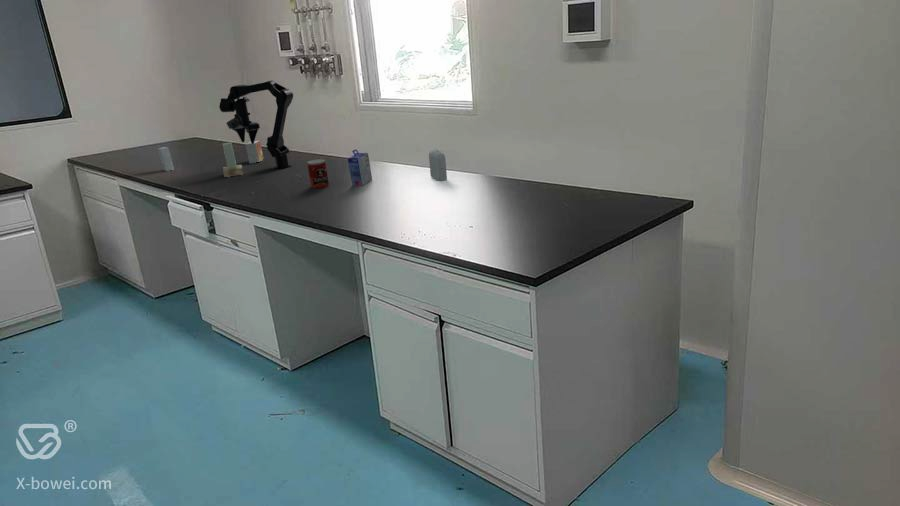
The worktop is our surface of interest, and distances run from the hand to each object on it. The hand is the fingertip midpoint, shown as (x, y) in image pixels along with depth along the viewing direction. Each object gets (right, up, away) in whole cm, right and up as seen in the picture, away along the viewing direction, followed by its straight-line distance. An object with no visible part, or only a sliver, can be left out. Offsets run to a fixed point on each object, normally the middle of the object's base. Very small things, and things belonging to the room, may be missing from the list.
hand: (248, 142), depth 318 cm
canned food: (+45, -27, -44) cm, 69 cm away
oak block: (-5, -17, -7) cm, 19 cm away
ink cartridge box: (+64, -26, -45) cm, 82 cm away
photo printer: (+97, -24, -50) cm, 112 cm away
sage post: (-5, -14, -8) cm, 17 cm away
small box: (-2, -7, +20) cm, 21 cm away
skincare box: (-48, -12, +18) cm, 53 cm away
